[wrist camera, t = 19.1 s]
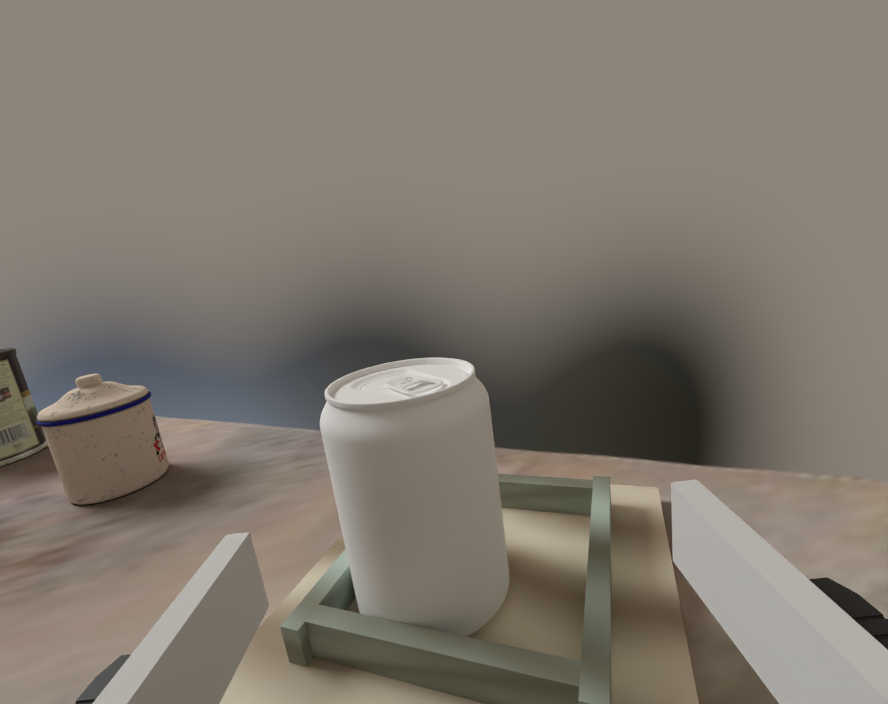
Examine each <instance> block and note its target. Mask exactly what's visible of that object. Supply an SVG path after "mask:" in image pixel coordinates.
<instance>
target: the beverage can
mask: <svg viewBox="0 0 888 704" xmlns="http://www.w3.org/2000/svg"><path fill="white" fill-rule="evenodd" d="M325 398H326V401H327V402H326V404H325V406H324V409H323V411H322V414H321V417H320V429H321V434H322V439H323V444H324V448H325V453H326V458H327V462H328V467H329V472H330V477H331V481H332V486H333V491H334V496H335V500H336V505H337V510H338V515H339V519H340V524H341V529H342V534H343V538H344V543H345V548H346V552H347V557H348V562H349V567H350V571H351V576H352V581H353V586H354V590H355V595H356V600H357V604H358V609H359V612H360V614H365V615H369V616H374V617H379V618H383V619H388V620H392V621H397V622H402V623H406V624H411V625H416V626H420V627H425V628H430V629H434V630H439V631H443V632H448V633H453V634H457V635H462V636H469V635H470V634H472V633H474V632H475V631H477V630H478V629H480V628H481V627H482V626H484V625H485V624H486V623H487V622H488V621H489V620H490V619H491V618H492V617H493V616H494V615H495V614H496V613H497V611H498V610H499V608H500V607H501V605H502V603H503V602H504V599H505V597H506V595H507V592H508V587H509V567H508V558H507V550H506V541H505V533H504V524H503V516H502V507H501V498H500V490H499V481H498V473H497V464H496V456H495V447H494V439H493V430H492V422H491V413H490V405H489V397H488V393H487V391H486V389H485V387H484V386H483V384H482V383H481V382H480V381H479V380H478V379H477V378H476V377H475V369H474V366H473V365H472V364H470V363H469V362H467V361H464V360H459V359H452V358H419V359H410V360H402V361H396V362H390V363H385V364H381V365H376V366H373V367H369V368H366V369H362V370H359V371H356V372H353V373H351V374H348V375H346V376H343V377H341V378H339V379H338V380H336V381H334V382H333V383H331V384H330V385H329V386H328V387H327V389H326V390H325Z"/></svg>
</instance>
